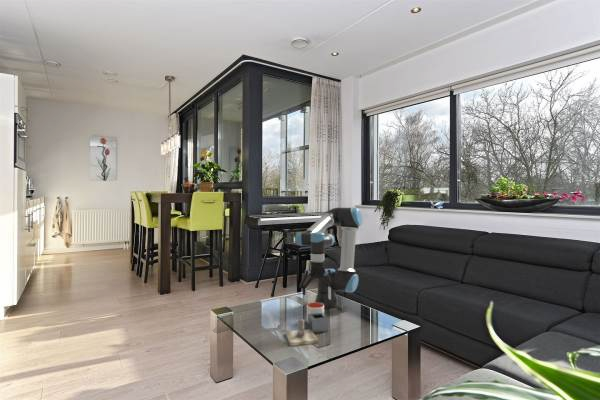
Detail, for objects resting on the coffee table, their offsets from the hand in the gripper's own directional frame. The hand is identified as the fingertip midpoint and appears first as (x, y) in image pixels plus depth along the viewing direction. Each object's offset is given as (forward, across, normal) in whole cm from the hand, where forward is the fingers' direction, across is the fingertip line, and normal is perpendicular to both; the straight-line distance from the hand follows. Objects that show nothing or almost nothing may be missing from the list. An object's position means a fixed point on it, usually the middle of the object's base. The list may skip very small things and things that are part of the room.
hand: (317, 299), depth 193 cm
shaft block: (+16, +12, +10) cm, 22 cm away
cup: (+16, -2, -10) cm, 19 cm away
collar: (+16, 0, 0) cm, 16 cm away
